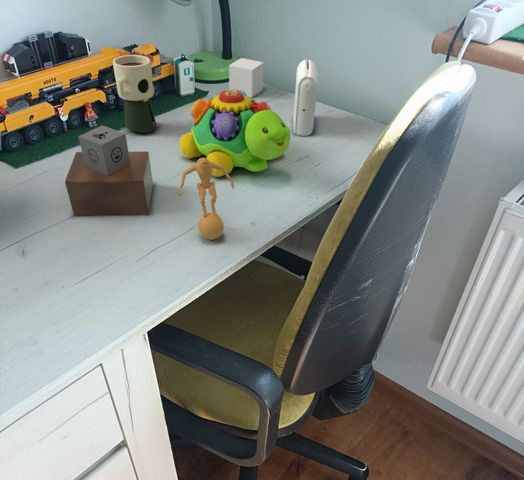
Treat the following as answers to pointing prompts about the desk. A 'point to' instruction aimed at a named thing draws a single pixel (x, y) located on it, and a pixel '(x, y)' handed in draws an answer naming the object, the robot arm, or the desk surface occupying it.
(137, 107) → the character mug
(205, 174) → the figurine
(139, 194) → the walnut block
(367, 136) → the desk surface
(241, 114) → the turtle toy
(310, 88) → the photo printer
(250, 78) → the white cube
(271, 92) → the desk surface
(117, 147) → the dice cube
